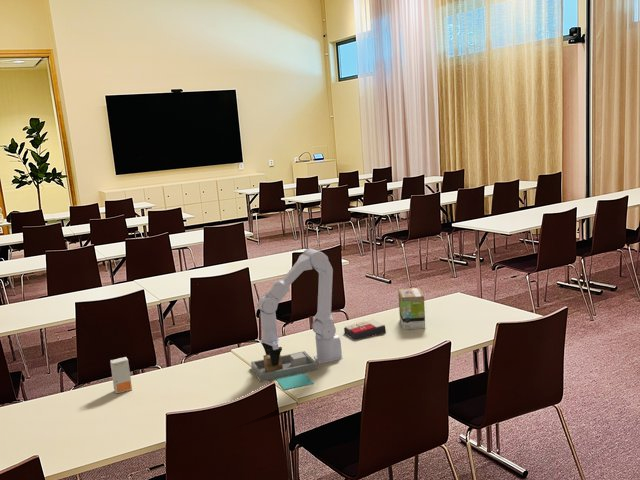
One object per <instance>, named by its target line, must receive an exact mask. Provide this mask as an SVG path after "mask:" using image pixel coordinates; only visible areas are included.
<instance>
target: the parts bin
mask: <svg viewBox="0 0 640 480" xmlns="http://www.w3.org/2000/svg"><path fill="white" fill-rule="evenodd" d="M298 353H303V354H304V355H305V356H306V360H307V364H306V365H301V366H296V367H292V365H291V360H290V355H293V354H298ZM281 356H282V365H283V369H281V370H277V371H272V372H267V373H266V371H265V366H264V358H263V359H259V360H254V361H250V365H251V369H252V371H253V372H254V374H255V375H256V376H257V378H258V380H259V382H265V381H271V380H274V379H275V380H276V379H277V378H282V377H287V376H291V375H296V374H301V373H308V372H314V371H317V370H318V363H317V361H315V359H313V358H312V356H311V355H310V354H308V353H307V352H306V351H305V350H304V351H300V352H294V353H289V354H283V355H281Z"/></svg>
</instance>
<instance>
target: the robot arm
mask: <svg viewBox="0 0 640 480" xmlns="http://www.w3.org/2000/svg"><path fill="white" fill-rule="evenodd" d="M313 269H314V270H315V271H316V272H317V273H318V288H317V289H318V290H317V291H318V293H317V310H316V311H317V312H316V314H315V315H314V319H313V321H312V324H311V328H312V331H313V332H314V333H315V345H316V346H315V347H316V355H314V356H313V357H314V360H316V362H318V363H319V364H324V363H327V362H328V363H329V362H334V361H338V360H342V359H343V354H342V353H343V352H342V343H341V339H340V336H339V335H338V334H336V332H337V331H336V330H337V329H336V328H337V327H336V326H335V319H334V318H333V315H332V300H333V297H332V296H333V294H332V293H333V276H334V275H333V273H334V269H333V267H332V264H331V262H330V261H329V257H328V255H326V253H324V252H323V251H319V250H316V249H314V248H310V247H309V248H306V249H305V250H304V251H303V252H302V253H301V254H300V255H299V256H298V259H297V261H296V262H295V263H294V264H293V266H292V267H291V268H290V270H289V271H288V272H287V274H285V276H284V277H283V279H282V280H281V279H280V280H277V281H274V282H273V283H272V287H271V288H270V289H269V291H267V292H265V293H264V296H261V297H260V298H259V299H258V303H256V306H257V309H259V311H260V321H261V324H260V325H261V333H262V339H260V340H259V342H260V344H261V346H262V347H263V349H264V352H265V355H270V358H271V362H272V365H273V366H277V365H278V364H279V357H280V355H281V354H282V353H281V352H282V351H283V347H282V346H279V341H280V338H279V335H278V323H277V314H276V312H277V310H278V306H279V303H281V301H282V300H283V298H284V297H285V296H286V295H287V294H288V293H289V291H290V286H291V285H292V284H293V283H294V281H295V280H297V278H299V276H300V275H301V274H302V273H303V272H304V271H310V270H313Z"/></svg>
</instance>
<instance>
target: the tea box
mask: <svg viewBox="0 0 640 480" xmlns="http://www.w3.org/2000/svg"><path fill="white" fill-rule="evenodd" d="M397 291H398V307H399V308H398V309H399V320H400V323H401V327H402V329H403V330H417V329H418V330H419V329H425V328H426V311H425V296H424V294H423V292H422V290H421V289H420V287H417V288H416V287H415V288H413V287H412V288H401V289H398V290H397Z"/></svg>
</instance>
